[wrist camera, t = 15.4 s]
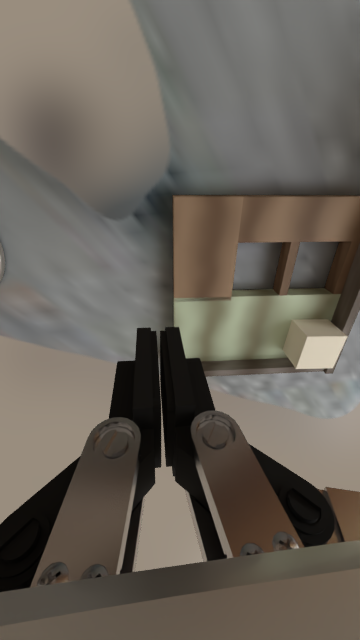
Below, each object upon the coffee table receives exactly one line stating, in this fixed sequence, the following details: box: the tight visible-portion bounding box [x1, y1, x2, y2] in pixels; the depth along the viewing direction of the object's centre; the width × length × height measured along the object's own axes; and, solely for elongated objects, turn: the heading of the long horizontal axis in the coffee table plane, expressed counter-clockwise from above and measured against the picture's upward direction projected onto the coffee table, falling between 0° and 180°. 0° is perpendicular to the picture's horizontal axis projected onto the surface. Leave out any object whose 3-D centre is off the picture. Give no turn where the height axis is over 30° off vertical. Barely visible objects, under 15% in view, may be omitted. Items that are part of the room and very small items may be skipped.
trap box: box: [173, 195, 360, 377], centre depth 30 cm, size 22×22×4 cm
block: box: [283, 319, 347, 369], centre depth 33 cm, size 5×5×4 cm
